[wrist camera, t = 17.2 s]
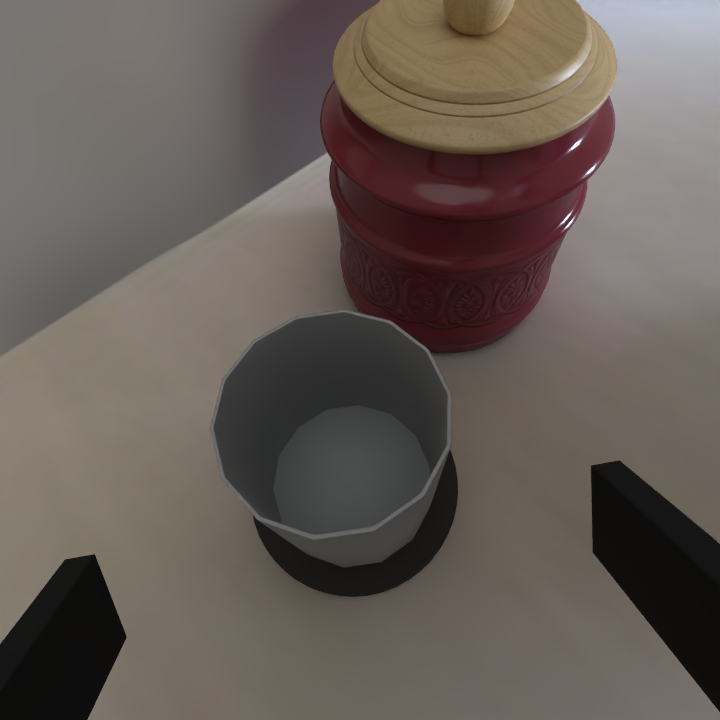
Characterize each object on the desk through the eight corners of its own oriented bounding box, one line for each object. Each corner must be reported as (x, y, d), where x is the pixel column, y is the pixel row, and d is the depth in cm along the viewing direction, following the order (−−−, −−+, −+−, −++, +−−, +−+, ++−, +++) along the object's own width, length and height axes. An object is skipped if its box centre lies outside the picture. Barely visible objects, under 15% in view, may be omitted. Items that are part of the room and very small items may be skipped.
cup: (324, 603, 23) (280, 596, 14) (247, 462, 26) (173, 385, 17) (464, 502, 25) (505, 439, 16) (375, 382, 28) (366, 276, 19)
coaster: (481, 427, 27) (483, 424, 26) (416, 636, 22) (416, 637, 22) (305, 365, 29) (304, 362, 29) (214, 542, 25) (212, 541, 24)
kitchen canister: (318, 234, 34) (256, -83, 19) (483, 181, 36) (553, -155, 20) (386, 388, 28) (377, 112, 13) (580, 317, 30) (787, -10, 14)
